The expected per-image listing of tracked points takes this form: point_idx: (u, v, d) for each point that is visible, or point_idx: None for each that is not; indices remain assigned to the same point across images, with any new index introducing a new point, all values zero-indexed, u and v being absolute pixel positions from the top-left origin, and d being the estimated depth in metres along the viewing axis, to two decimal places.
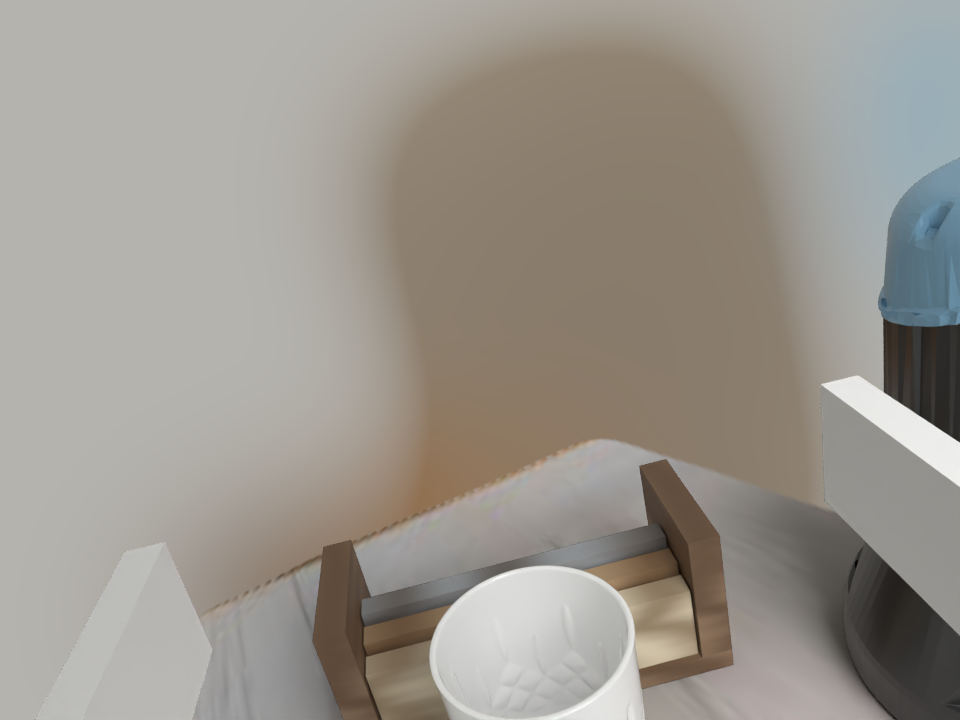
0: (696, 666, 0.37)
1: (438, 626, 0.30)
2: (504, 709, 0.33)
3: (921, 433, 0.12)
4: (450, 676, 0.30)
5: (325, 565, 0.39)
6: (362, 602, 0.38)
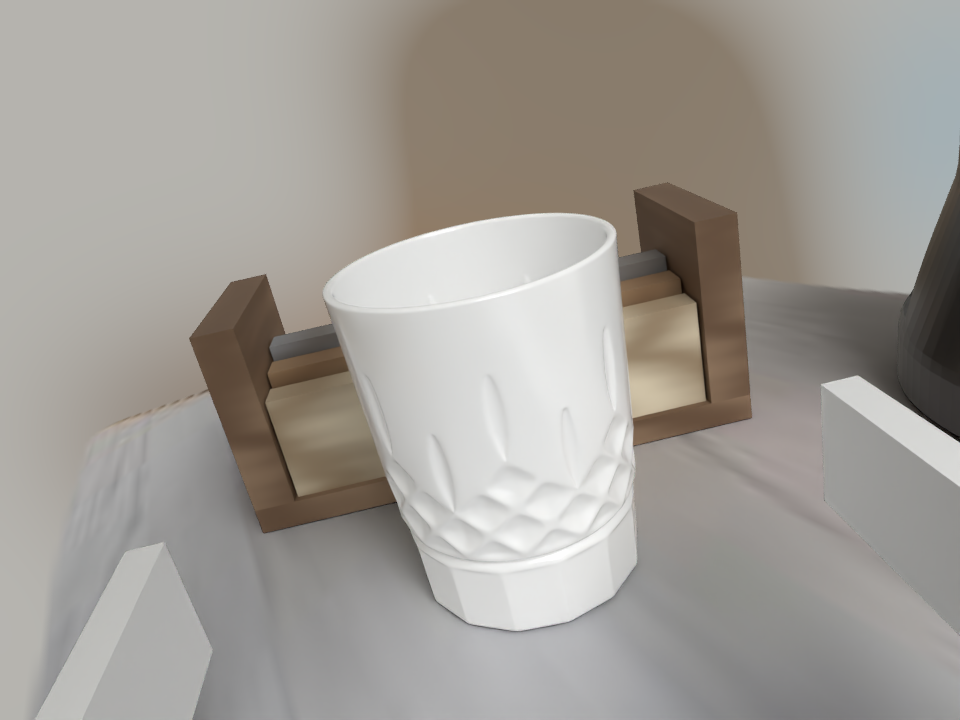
0: (703, 417, 0.28)
1: (344, 267, 0.21)
2: None
3: (921, 433, 0.12)
4: None
5: (228, 292, 0.30)
6: (273, 338, 0.30)
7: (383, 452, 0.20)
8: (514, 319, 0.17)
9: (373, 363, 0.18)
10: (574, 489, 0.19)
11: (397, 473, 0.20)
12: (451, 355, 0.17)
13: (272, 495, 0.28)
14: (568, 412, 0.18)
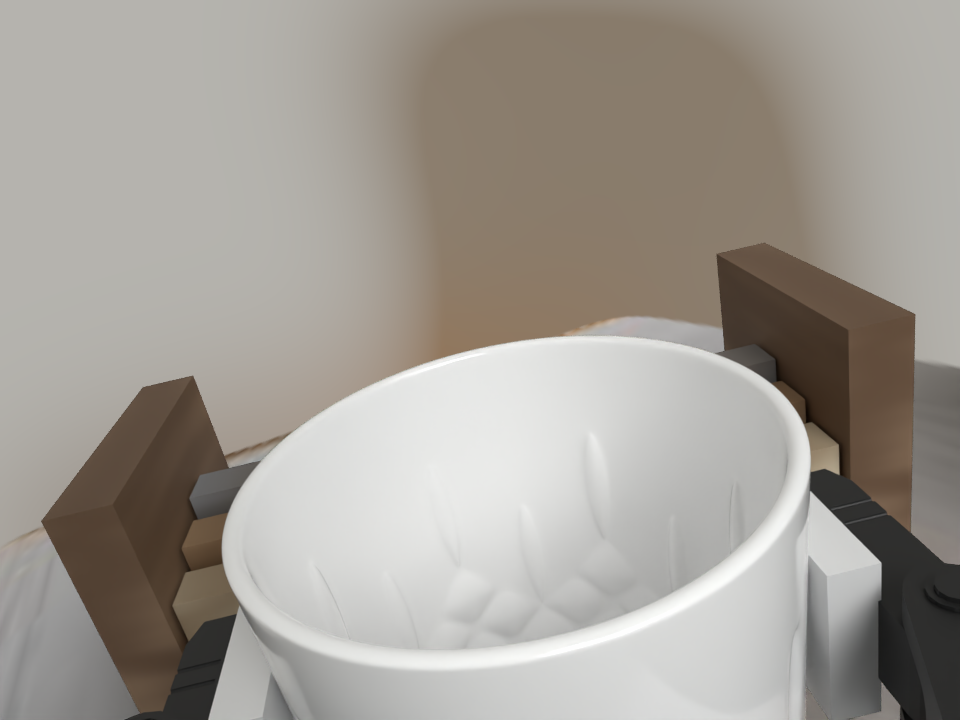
0: None
1: (277, 446, 0.12)
2: None
3: None
4: (304, 573, 0.12)
5: (132, 409, 0.21)
6: (199, 479, 0.20)
7: None
8: (631, 684, 0.07)
9: (314, 719, 0.09)
10: None
11: None
12: None
13: None
14: None
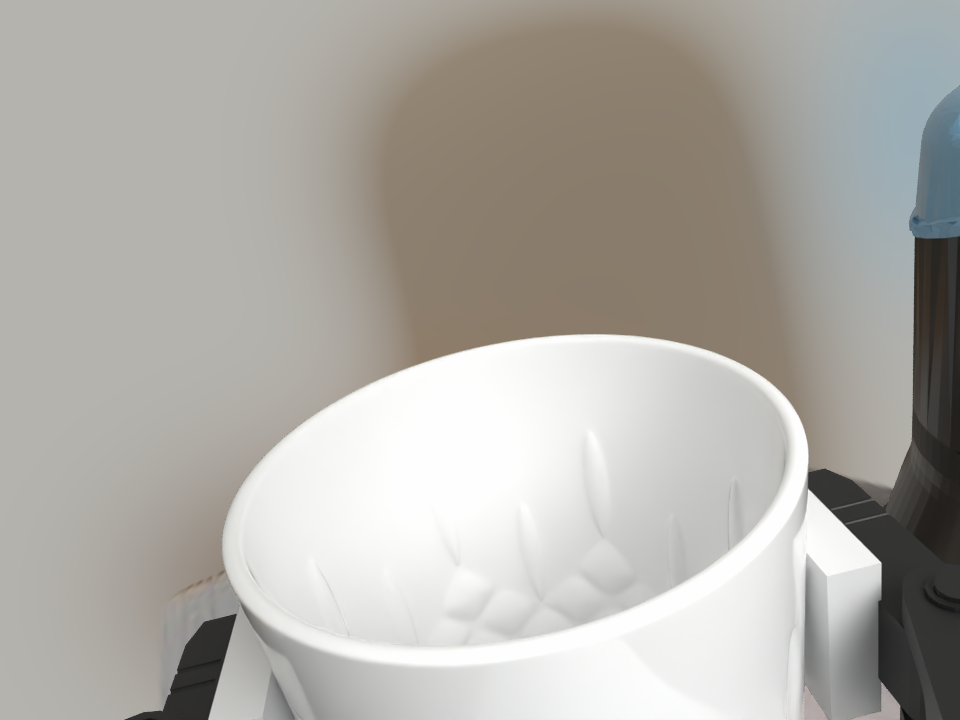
0: None
1: (277, 444, 0.12)
2: None
3: None
4: (305, 571, 0.12)
5: None
6: None
7: None
8: (629, 680, 0.07)
9: (314, 716, 0.09)
10: None
11: None
12: None
13: None
14: None
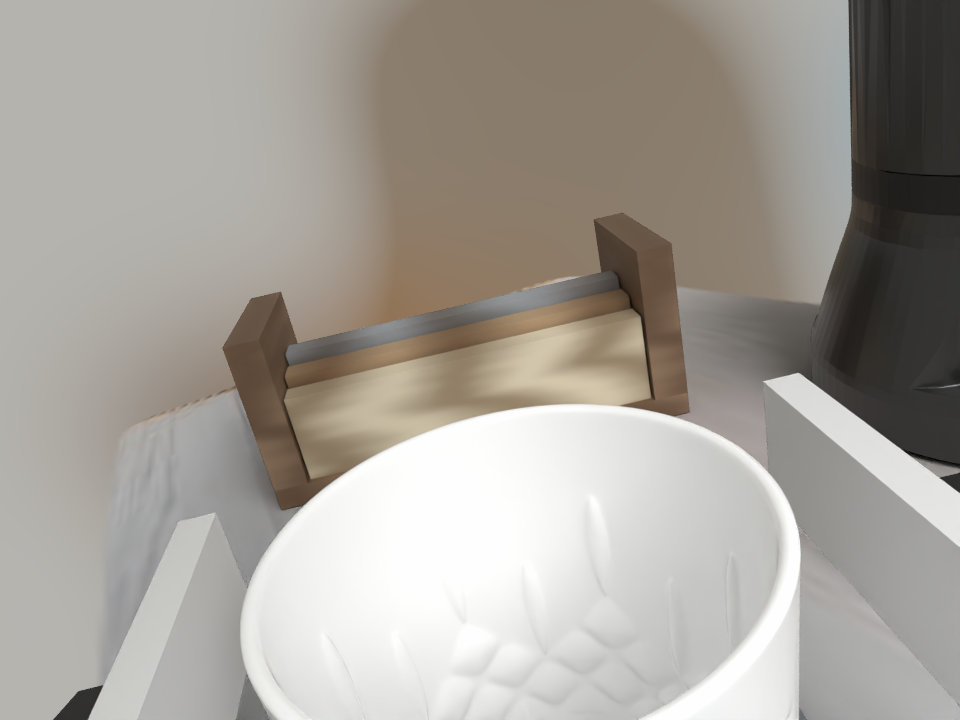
0: None
1: (290, 522, 0.12)
2: None
3: (849, 427, 0.13)
4: (317, 644, 0.12)
5: (249, 307, 0.36)
6: (288, 346, 0.35)
7: None
8: None
9: None
10: None
11: None
12: None
13: (289, 477, 0.33)
14: None
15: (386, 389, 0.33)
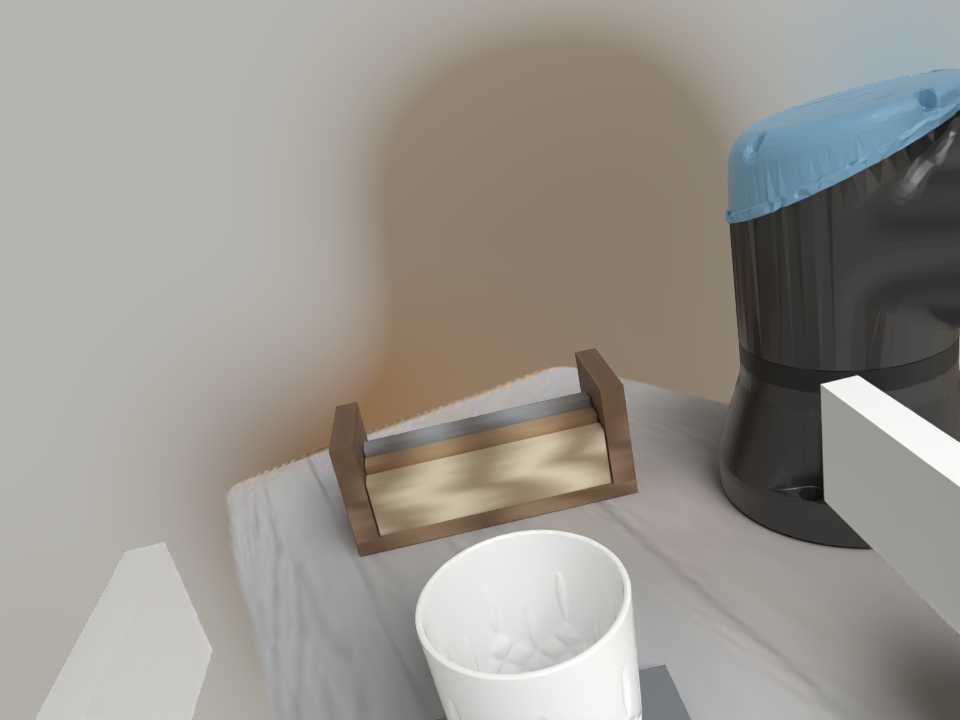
0: (609, 492, 0.50)
1: (425, 586, 0.29)
2: None
3: (921, 433, 0.12)
4: (437, 639, 0.29)
5: (337, 415, 0.52)
6: (364, 443, 0.52)
7: None
8: (561, 684, 0.24)
9: (457, 696, 0.25)
10: None
11: None
12: (516, 705, 0.24)
13: (367, 535, 0.49)
14: None
15: (434, 477, 0.49)
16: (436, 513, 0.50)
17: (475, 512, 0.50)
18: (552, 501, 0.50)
